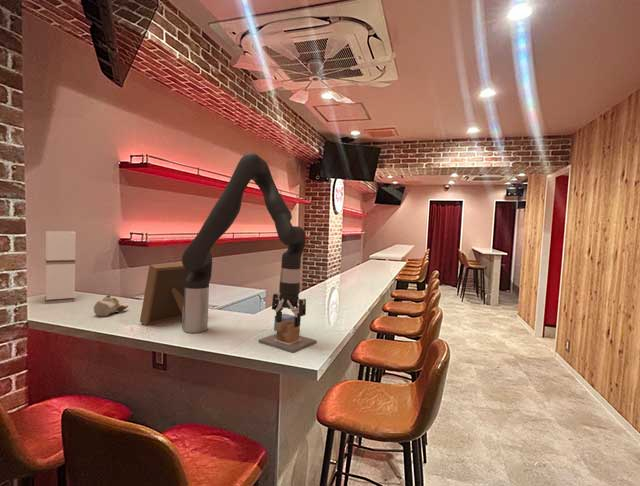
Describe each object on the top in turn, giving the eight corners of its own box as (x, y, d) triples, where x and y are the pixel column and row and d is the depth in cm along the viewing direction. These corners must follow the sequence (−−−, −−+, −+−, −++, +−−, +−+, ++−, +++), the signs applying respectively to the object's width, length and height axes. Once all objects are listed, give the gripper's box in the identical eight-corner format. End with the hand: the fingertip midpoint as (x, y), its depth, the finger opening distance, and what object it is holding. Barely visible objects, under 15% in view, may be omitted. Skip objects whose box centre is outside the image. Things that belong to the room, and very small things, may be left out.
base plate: (258, 342, 126) (258, 339, 126) (283, 333, 138) (283, 331, 138) (292, 353, 117) (292, 349, 117) (316, 342, 129) (316, 339, 129)
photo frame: (139, 324, 142) (141, 263, 141) (184, 314, 161) (186, 260, 160) (162, 331, 134) (163, 267, 133) (206, 319, 153) (208, 263, 152)
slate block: (274, 330, 142) (274, 316, 142) (283, 327, 147) (284, 313, 147) (285, 333, 139) (285, 318, 138) (294, 330, 144) (295, 316, 143)
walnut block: (276, 339, 127) (276, 323, 126) (286, 336, 132) (287, 320, 131) (288, 343, 123) (289, 326, 123) (299, 339, 128) (299, 323, 128)
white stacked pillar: (72, 297, 183) (73, 231, 181) (74, 301, 175) (75, 232, 173) (45, 299, 175) (46, 231, 174) (45, 304, 167) (46, 231, 166)
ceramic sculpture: (86, 296, 148) (107, 292, 163) (85, 317, 148) (106, 311, 163) (111, 298, 148) (130, 293, 163) (110, 318, 148) (129, 312, 163)
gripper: (311, 282, 125) (309, 326, 126) (282, 277, 133) (279, 318, 134) (298, 284, 119) (296, 330, 120) (268, 278, 127) (266, 322, 128)
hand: (287, 324), depth 127 cm, fingers open, 8 cm apart
